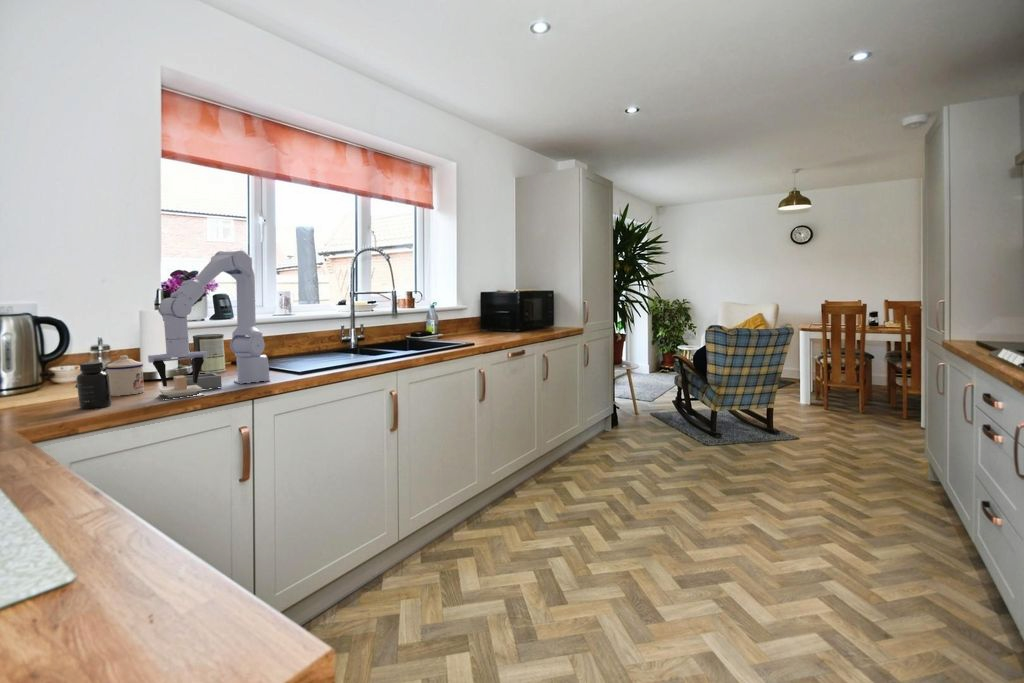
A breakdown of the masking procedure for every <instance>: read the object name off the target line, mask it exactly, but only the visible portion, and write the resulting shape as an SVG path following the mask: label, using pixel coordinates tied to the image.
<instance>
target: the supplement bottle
mask: <svg viewBox="0 0 1024 683" xmlns="http://www.w3.org/2000/svg"><path fill="white" fill-rule="evenodd" d="M79 368H80V369H79V370H80V373H79V374H78V375H77V376H76V378H75V379H76V385H77V386H76V388H77V394H78V396H77V397H78V404H79V409H81V410H95V408H98V409H102V407H103V408H107V407H110V406H111V405H112V396H111V392H110V383H109V375H108V374H107V371H103V370H104V369H105V368H104V363H103V361H92V362H91V361H90V362H83V363H80V364H79ZM109 405H110V406H109ZM106 406H107V407H106Z"/></svg>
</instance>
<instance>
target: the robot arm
mask: <svg viewBox="0 0 1024 683" xmlns="http://www.w3.org/2000/svg"><path fill="white" fill-rule="evenodd" d="M221 273H226V274H227V275H229V276H231V277H232V278H233V279H234V280H235V281H236V282H235V283H236V315H237V316H236V317H237V318H236V320H237V322H236V323H237V327H236V328H235V329H234V331H233V332H232V334H231V335H232V336H231V340H230V343H229V348H230V350H231V351H232V353H233V354H234V357H236V372H237V375H236V376H237V379H234V380H233V382H234V381H235V383H237V384H239V383H240V384H239V385H243V384H242V383H247V384H250V383H249V382H256V383H259V382H258V381H264V382H270V381H271V379H270V365H269V358H268V356H267V355H266V354H262V353H263V352H264V350H265V346H266V345H265V340H264V337H263V332H262V331H261V330H260V329H258V328H257V326H256V322H257V320H256V284H255V282H256V281H255V277H256V276H255V272H254V269H253V259H252V257H251V255H250V254H248V253H247V252H246V251H245V250H243V249H238V250H225V251H224V250H219V251H217V252H216V253H215V254H214V255H213V256H211V257H210V260H209V262H208V263H207V264H206V266H205V267H204V268H203V269H202V270H201V271H200V272H199V274H198V275H197V276H196V277H195V278H194V279H187V280H183V281H182V282H181V286H180V287H178V289H177V290H175V291H174V292H172V293H171V294H170V297H166V298H164V299H162V300H161V302H160V303H159V307H157V311H158V313H159V315H160V316H161V317H162V322H163V325H164V338H165V349H166V350H165V351H166V353H160V354H151V355H147V358H148V359H147V361H148V363H149V364H151V363H152V365H153V367H154V368H155V370H156V371H157V373H158V375H159V377H160V379H161V383H162V387H164V388H167V387H168V382H167V381H168V380H167V374H166V373H167V372H166V371H167V370H166V367H167V366H166V363H165V362H172V361H182V360H183V361H184V360H190V361H191V368H192V375H193V383H197V380H198V375H199V374H200V373H199V371H200V369H201V366H202V364H203V362H204V359H203V358H207V352H206V351H201V352H194V351H190V342H189V330H188V329H189V328H188V316H189V315H190V314H192V313H191V312H192V309H193V308H192V307H193V306H194V304H195V303H196V302H197V301H198V300H199V299H200V298H201V297H202V296H203V295H204V294H205V290H206V289H205V287H206V286H208V285H209V283H211V282H212V281H213V280H215V279H216V278H217V276H219V275H220V274H221Z"/></svg>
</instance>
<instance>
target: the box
mask: <svg viewBox="0 0 1024 683" xmlns="http://www.w3.org/2000/svg"><path fill="white" fill-rule="evenodd" d="M184 376H185V377H186V381H187V386H189V385H198V386H199V387H201V388H202V389H209V388H218V387H222V376H221V374H218V373H205V374H200V373H199V375H198V380H197V383H193V374H192V375H184ZM222 388H223V387H222Z"/></svg>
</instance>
